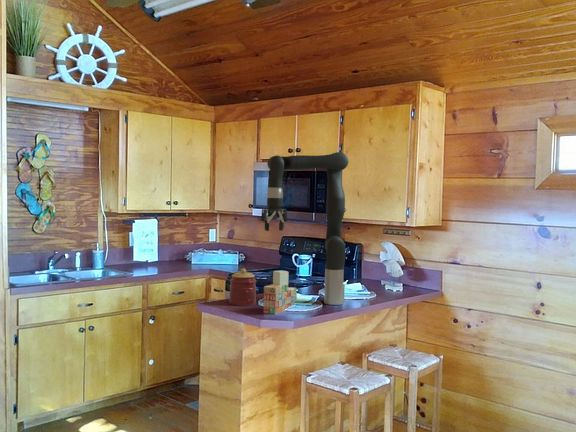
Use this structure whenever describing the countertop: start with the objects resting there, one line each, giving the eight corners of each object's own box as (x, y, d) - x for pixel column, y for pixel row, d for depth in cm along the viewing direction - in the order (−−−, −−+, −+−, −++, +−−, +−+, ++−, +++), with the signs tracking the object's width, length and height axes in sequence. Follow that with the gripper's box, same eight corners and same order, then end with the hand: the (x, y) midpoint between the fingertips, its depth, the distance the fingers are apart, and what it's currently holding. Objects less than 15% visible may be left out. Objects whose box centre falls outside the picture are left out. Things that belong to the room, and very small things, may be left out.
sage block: (281, 283, 259) (281, 270, 258) (288, 284, 255) (288, 271, 255) (273, 284, 255) (273, 271, 255) (279, 285, 252) (280, 272, 251)
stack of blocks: (285, 305, 268) (285, 280, 268) (296, 307, 265) (297, 281, 265) (263, 313, 249) (263, 286, 249) (275, 314, 246) (275, 287, 246)
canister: (236, 301, 276) (237, 266, 275) (260, 303, 271) (261, 267, 271) (224, 305, 264) (225, 268, 263) (248, 308, 259) (249, 270, 258)
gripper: (281, 197, 275) (280, 230, 276) (258, 196, 266) (257, 230, 266) (291, 197, 269) (290, 230, 270) (268, 196, 260) (267, 231, 261)
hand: (274, 230), depth 268 cm, fingers open, 8 cm apart
